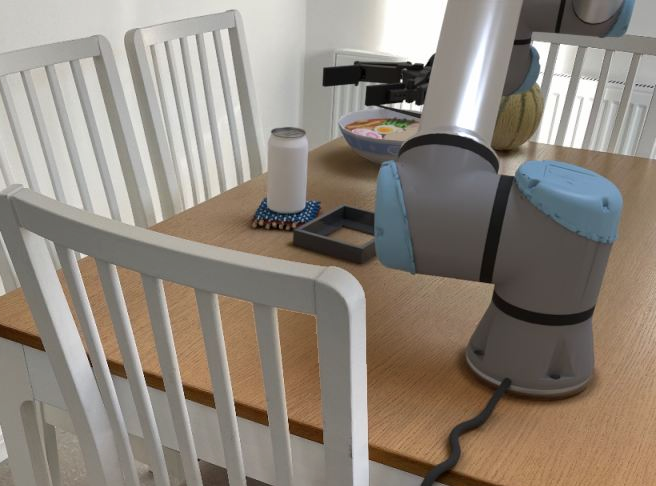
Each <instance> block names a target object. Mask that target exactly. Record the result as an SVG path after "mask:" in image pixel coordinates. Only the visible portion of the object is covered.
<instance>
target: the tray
mask: <svg viewBox="0 0 656 486" xmlns="http://www.w3.org/2000/svg"><path fill="white" fill-rule="evenodd" d="M374 223H375V210H374V211H373V210H369V209H367V208H362V207H358V206H354V205H350V204H347V203H342V204H340V205H338V206H336V207H334V208H331V209H330V210H328V211H326V212H324V213H323V214H321V215H318V216H317V218H315V219H313V220H311V221H309V222H307V223H306V224H304V225H302V226H299V227H297V228H294V229H293V237H292V245H293V246H297V247H300V248H304V249H307V250H311V251H314V252H318V253H321V254H325V255H327V256H331V257H336V258H339V259H341V260H346V261H349V262H353V263H357V264H360V265H362V264H364V263H365V262H367V261H369V260H371V259H373V257H375V256H377V254H376V249H375V237H373V238H372V239H370V240H369V241H367V242H365V243H363V244H362V245H358V244H354V243H351V242H347V241H343V240H340V239H337V238H333V237H329V235H331V234H332V233H334V232H336V231H338V230H340V229H341V228H346V229H349V230H353V231H354V230H355V231H358V232H361V233H366V234H368V235H369V234H370V235H373V236H375V232H374Z"/></svg>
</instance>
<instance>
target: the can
mask: <svg viewBox="0 0 656 486" xmlns="http://www.w3.org/2000/svg"><path fill="white" fill-rule="evenodd" d="M306 134H307V131H306V130H305V129H303V128H301V127H293V126H280V127H274V128H272V129H271V130H270V136H269V138H268V141H267V169H266V171H267V172H266V174H267V175H266V197H267V206H268V208H269V209H270V210H271V211H273V212H276V213H280V214H295V213H299V212H301V211H302V210H303V209H304V208H305V205H306V202H307V181H308V159H309V140H308V137H307V135H306Z"/></svg>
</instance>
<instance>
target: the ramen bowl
mask: <svg viewBox="0 0 656 486" xmlns="http://www.w3.org/2000/svg"><path fill="white" fill-rule="evenodd" d="M374 107H377V108H367V109H360V110H353V111H351V112H348V113H345V114H343V115H341V116H340V118H339V119H338V120H337V125H338V128H339V130H340V132H341V135H342V137H343V138H344V139H345V142H347V144H348V145H349V147H350V148H351V150H352V151H353V152H354V153H355V154H357V156H359V157H362V158H363V159H366V160H368V161H370V162H372V163H374V164H375V165H376V166H378V167H381V165H382V163H383V162H388V161H391V160H394V161H395V162H397V159H398V155H399V151H400V148H401V145H402V144H403V143H404V141H406V140H407V139H408V138H410V137H411V136H413V135H415V134H417V131H418V127H419V122H420V118H421V114H422V110H421V111H420V110H416V109H403V108H395V107H391V106H386V105H375V106H374Z"/></svg>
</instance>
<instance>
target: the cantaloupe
mask: <svg viewBox="0 0 656 486" xmlns="http://www.w3.org/2000/svg"><path fill="white" fill-rule="evenodd" d="M544 98H545V97H544V94H543V90H542V88H541V86H540V85H539V84H538V82H536V83H535V84H534V85H533V87H532V88H531V89H529V90H528V91H526V92H523V93H520V94H514V95H510V96H502V97H501V101H500V106H499V110H498V114H497V119H496V123H495V128H494V132H493V137H492V141H491V146H490V147H491V148H492V149H493V150H495V151H496V150H497V151H498V150H499V151H509V150H513V149H516V148H518V147H520V146H523V145H524V144H525V143H527V142H528V141H529V140H530V139H531V138H532V137H533V136H534V135H535V133H536V131H537V130H538V128H539V125H540V123H541V119H542V117H543V113H544V109H545V99H544Z"/></svg>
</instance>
